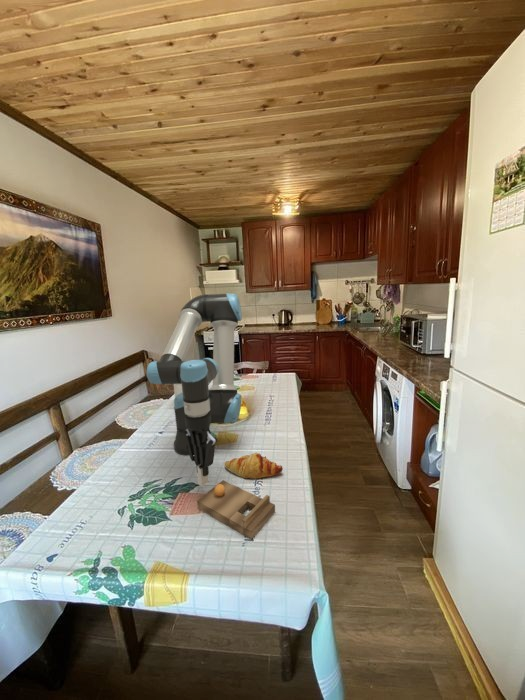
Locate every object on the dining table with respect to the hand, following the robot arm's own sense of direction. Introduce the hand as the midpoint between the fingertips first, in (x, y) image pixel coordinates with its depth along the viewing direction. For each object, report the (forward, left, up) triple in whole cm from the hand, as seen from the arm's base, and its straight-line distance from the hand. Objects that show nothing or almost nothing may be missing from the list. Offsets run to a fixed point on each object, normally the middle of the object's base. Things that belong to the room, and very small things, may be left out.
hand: (203, 483), depth 89 cm
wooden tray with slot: (+13, 0, -4) cm, 13 cm away
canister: (-60, +46, -4) cm, 76 cm away
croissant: (+6, +18, -4) cm, 19 cm away
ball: (+7, 0, 0) cm, 7 cm away
